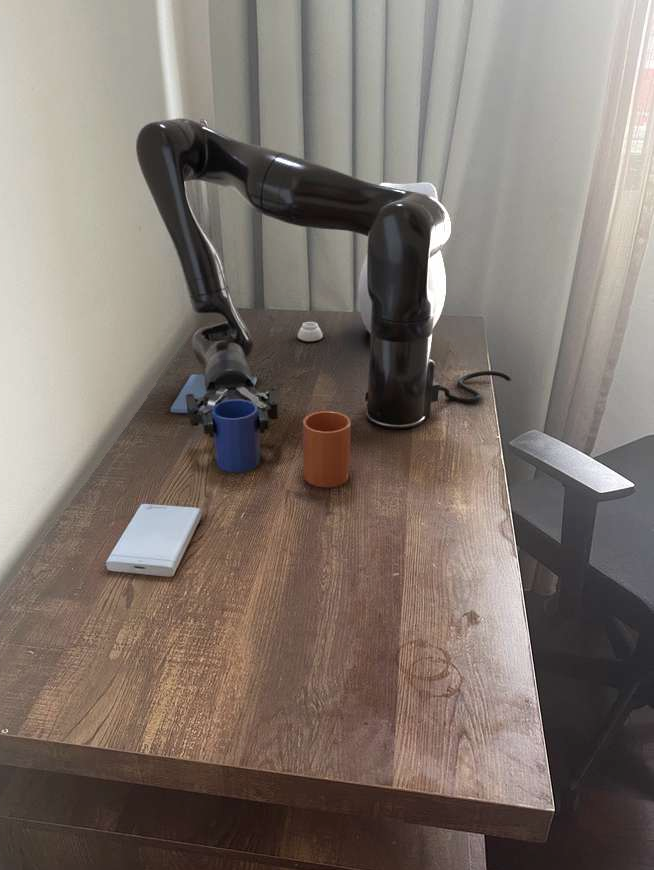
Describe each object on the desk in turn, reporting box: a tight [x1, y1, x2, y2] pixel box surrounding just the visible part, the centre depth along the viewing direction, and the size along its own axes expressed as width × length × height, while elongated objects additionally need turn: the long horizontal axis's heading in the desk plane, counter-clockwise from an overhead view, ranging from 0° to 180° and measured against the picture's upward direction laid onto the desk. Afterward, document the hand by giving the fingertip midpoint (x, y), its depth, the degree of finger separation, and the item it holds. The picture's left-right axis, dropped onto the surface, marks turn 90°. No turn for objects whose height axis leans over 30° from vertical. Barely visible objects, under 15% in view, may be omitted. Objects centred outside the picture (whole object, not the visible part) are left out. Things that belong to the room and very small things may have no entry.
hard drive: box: [105, 503, 202, 578], centre depth 91 cm, size 2×8×12 cm
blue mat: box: [169, 374, 258, 414], centre depth 127 cm, size 14×12×1 cm
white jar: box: [297, 321, 323, 342], centre depth 149 cm, size 5×3×5 cm
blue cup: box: [212, 399, 261, 474], centre depth 106 cm, size 6×6×8 cm
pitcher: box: [357, 181, 447, 334], centre depth 139 cm, size 24×17×28 cm
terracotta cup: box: [302, 410, 352, 488], centre depth 102 cm, size 6×6×8 cm
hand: (237, 429), depth 103 cm, fingers closed on blue cup, 6 cm apart
